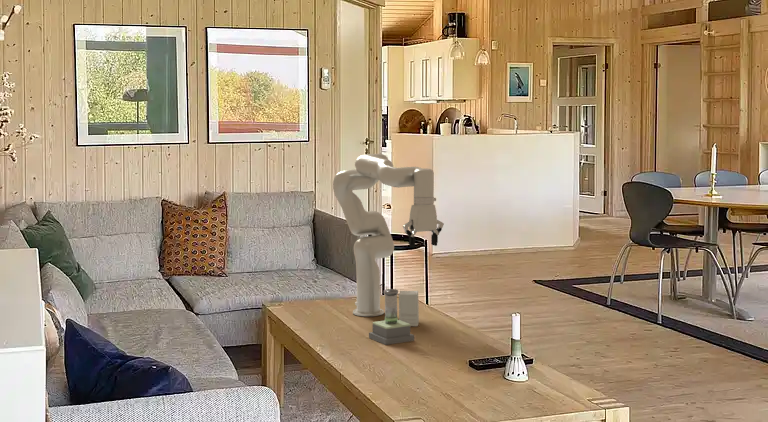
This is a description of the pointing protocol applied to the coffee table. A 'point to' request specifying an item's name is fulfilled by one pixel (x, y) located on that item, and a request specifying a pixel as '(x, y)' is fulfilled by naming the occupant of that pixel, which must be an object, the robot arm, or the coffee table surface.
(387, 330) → the pedestal
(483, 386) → the coffee table surface
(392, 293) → the clear jar with lid
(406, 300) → the supplement box
